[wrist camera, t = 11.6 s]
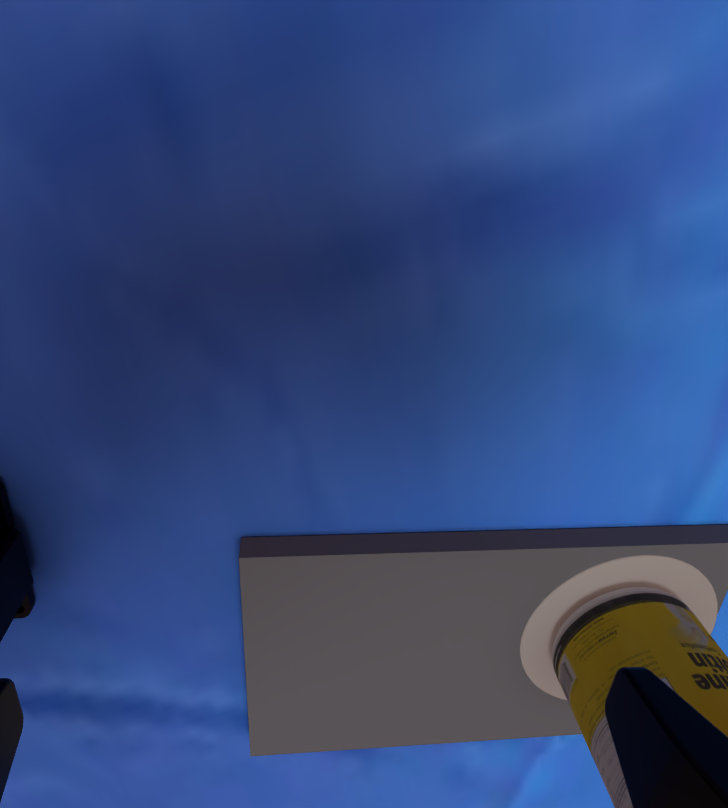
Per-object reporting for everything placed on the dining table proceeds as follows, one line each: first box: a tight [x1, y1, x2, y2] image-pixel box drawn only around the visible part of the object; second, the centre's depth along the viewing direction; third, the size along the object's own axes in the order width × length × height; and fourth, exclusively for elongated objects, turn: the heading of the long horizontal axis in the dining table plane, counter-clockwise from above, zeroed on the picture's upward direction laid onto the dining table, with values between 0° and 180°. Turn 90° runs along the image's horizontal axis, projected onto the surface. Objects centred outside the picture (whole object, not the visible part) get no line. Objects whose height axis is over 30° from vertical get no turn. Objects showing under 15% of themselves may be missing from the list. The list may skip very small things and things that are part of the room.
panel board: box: [239, 525, 728, 756], centre depth 27 cm, size 21×12×1 cm, turn 87°
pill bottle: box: [552, 587, 728, 808], centre depth 21 cm, size 6×6×12 cm
